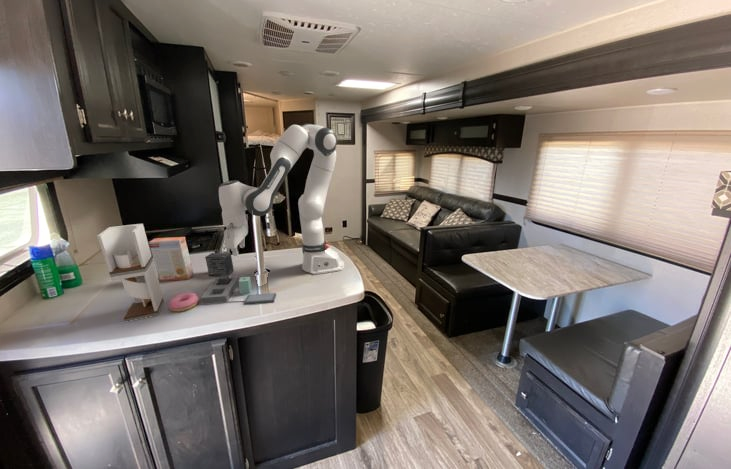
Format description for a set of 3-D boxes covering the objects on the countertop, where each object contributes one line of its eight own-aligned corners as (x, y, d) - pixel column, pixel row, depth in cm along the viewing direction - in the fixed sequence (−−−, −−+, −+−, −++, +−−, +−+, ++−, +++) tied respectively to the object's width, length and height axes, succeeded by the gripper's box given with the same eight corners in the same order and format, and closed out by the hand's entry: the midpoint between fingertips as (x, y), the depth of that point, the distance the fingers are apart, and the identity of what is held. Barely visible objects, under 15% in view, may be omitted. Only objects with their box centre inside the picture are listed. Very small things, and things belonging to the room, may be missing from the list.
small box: (234, 270, 153) (231, 252, 150) (228, 276, 147) (224, 257, 144) (216, 270, 154) (212, 252, 151) (208, 275, 148) (204, 256, 145)
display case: (134, 307, 121) (109, 227, 110) (164, 301, 125) (142, 223, 114) (125, 322, 111) (97, 235, 100) (158, 315, 115) (134, 231, 104)
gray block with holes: (239, 282, 140) (237, 271, 139) (226, 302, 124) (224, 290, 122) (217, 283, 139) (215, 273, 138) (202, 304, 122) (199, 292, 121)
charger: (252, 289, 134) (250, 276, 132) (249, 293, 130) (247, 280, 128) (243, 290, 133) (241, 277, 131) (240, 294, 130) (238, 281, 127)
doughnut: (187, 297, 129) (185, 288, 127) (205, 302, 125) (203, 293, 123) (163, 310, 119) (160, 301, 118) (181, 315, 115) (179, 306, 114)
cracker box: (194, 274, 150) (185, 236, 143) (188, 279, 144) (179, 240, 137) (165, 275, 149) (155, 237, 142) (158, 281, 143) (148, 241, 136)
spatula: (276, 295, 128) (276, 292, 128) (273, 302, 123) (273, 300, 122) (229, 298, 126) (228, 296, 126) (224, 306, 121) (224, 303, 120)
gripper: (234, 227, 112) (239, 260, 116) (248, 214, 131) (252, 242, 135) (217, 227, 111) (223, 261, 115) (234, 214, 130) (238, 243, 135)
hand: (239, 251), depth 125 cm, fingers open, 8 cm apart
